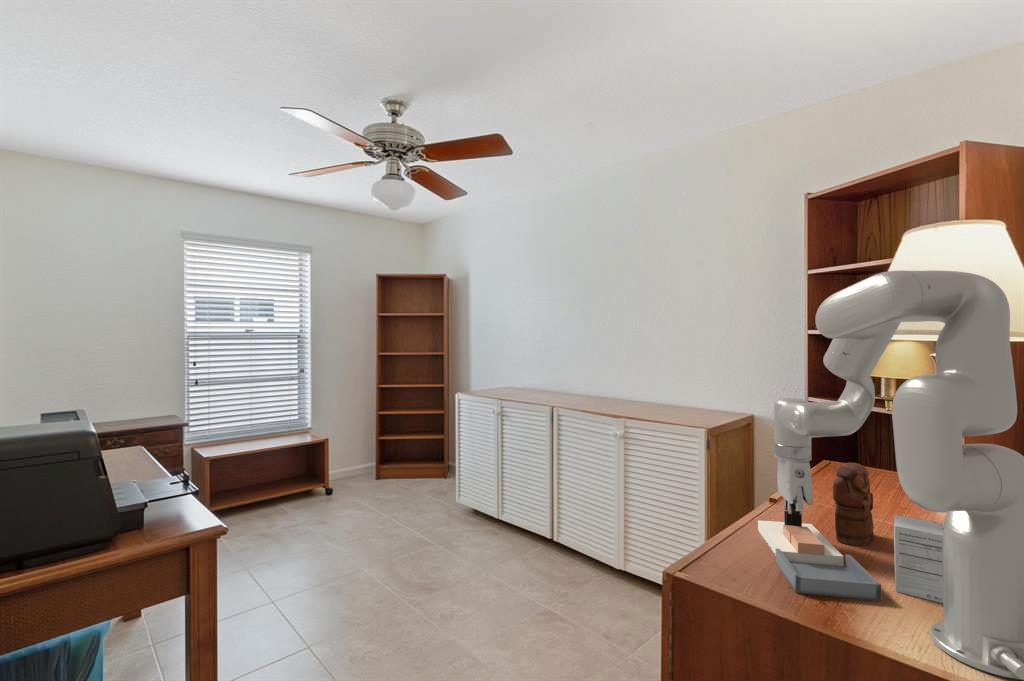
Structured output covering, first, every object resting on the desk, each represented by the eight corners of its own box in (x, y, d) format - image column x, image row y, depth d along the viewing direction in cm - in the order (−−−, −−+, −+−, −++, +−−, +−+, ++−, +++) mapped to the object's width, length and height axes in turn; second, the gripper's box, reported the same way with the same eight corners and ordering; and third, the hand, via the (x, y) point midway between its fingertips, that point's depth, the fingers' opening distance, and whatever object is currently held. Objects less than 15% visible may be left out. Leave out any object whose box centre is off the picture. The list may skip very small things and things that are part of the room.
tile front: (824, 555, 101) (824, 544, 101) (798, 553, 102) (797, 542, 103) (815, 545, 106) (815, 535, 106) (790, 543, 107) (790, 533, 107)
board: (843, 567, 101) (843, 556, 101) (780, 562, 104) (780, 551, 104) (811, 533, 118) (811, 524, 118) (758, 529, 121) (757, 520, 121)
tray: (881, 601, 88) (881, 584, 88) (796, 592, 91) (795, 577, 91) (849, 568, 100) (849, 554, 100) (775, 562, 104) (775, 548, 103)
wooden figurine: (863, 550, 109) (862, 470, 109) (830, 541, 114) (830, 465, 114) (878, 536, 117) (877, 461, 117) (847, 528, 122) (846, 456, 121)
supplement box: (894, 576, 97) (894, 513, 97) (944, 588, 92) (943, 522, 92) (894, 591, 91) (893, 525, 91) (946, 605, 86) (946, 534, 86)
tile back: (815, 545, 106) (815, 535, 106) (790, 543, 107) (789, 533, 107) (807, 536, 111) (807, 526, 111) (783, 534, 112) (783, 525, 112)
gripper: (823, 460, 105) (823, 544, 105) (799, 445, 120) (799, 519, 120) (785, 458, 107) (785, 541, 107) (766, 443, 121) (766, 516, 121)
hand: (793, 529), depth 113 cm, fingers closed
